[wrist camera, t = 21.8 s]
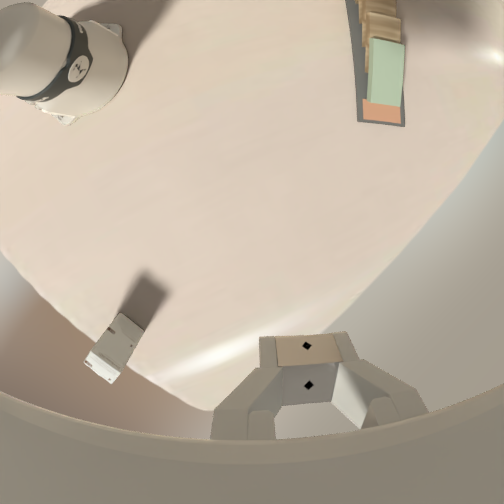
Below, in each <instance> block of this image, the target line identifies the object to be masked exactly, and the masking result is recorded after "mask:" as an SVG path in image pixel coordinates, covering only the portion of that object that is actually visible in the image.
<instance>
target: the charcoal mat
mask: <svg viewBox="0 0 504 504" xmlns="http://www.w3.org/2000/svg"><path fill="white" fill-rule="evenodd" d="M345 1H346V7H347V14H348V20H349V27H350V35H351V43H352V52H353V61H354V72H355V85H356V101H357V122H367V123H377V124H385V125H393V126H400V127H405V118H404V99H403V86H402V95H401V105H400V107H398V106H391V105H384V104H377V103H370V102H368V101H367V88H368V73H366V72H365V53H366V47H362V24H359V4H355V0H345Z"/></svg>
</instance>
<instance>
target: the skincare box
mask: <svg viewBox="0 0 504 504" xmlns="http://www.w3.org/2000/svg"><path fill="white" fill-rule="evenodd" d="M143 334H144V331H143V330H142V329H141V328H140V327H139V326H138V325H136V324H135V323H134V322H133V321H131V320H130V319H129V318H127V317H126V316H125V315H124V314H122V313H119V314H118V315H117V317H116V318H115V319H114V320H113V322H112V323H111V324H110V325H109V327H108V328H107V329H106V331H105V332H104V333H103V335H102V336H101V337H100V339H99V340H98V341H97V342H96V344H95V345H94V347H93V348H92V349H91V351H90V352H89V354H88V356H87V357H86V359H85V360H84V363H85V364H86V365H87V366H88V367H90V368H91V369H92V370H93V371H94V372H96V373H97V374H98V375H99V376H101V377H103V378H104V379H106V380H107V381H108V382H110V383H111V384H112V383H113V382H114V381H115V379H116V378H117V377H118V376H119V374H121V372H122V371H123V369H124V367H125V365H126V363H127V362H128V360H129V358H130V356H131V354H132V353H133V351H134V349H135V347H136V346H137V344H138V342H139V340H140V339H141V337H142V335H143Z"/></svg>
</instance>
